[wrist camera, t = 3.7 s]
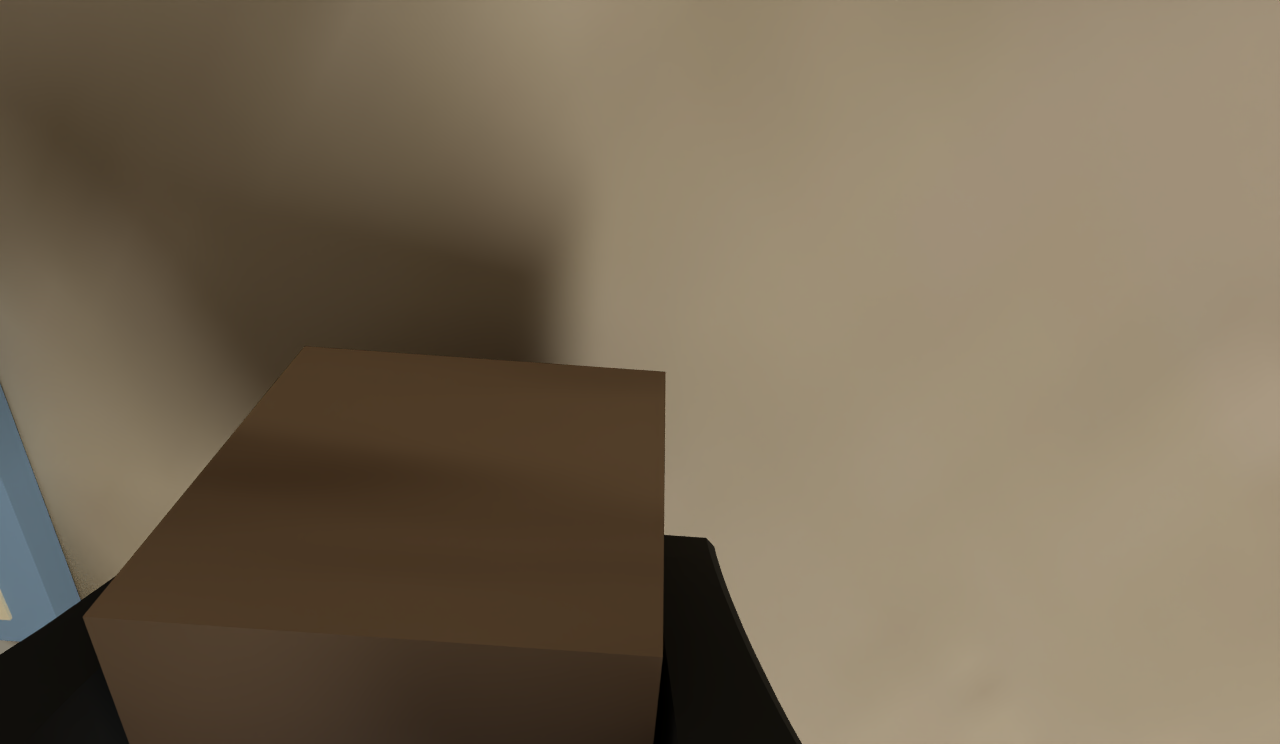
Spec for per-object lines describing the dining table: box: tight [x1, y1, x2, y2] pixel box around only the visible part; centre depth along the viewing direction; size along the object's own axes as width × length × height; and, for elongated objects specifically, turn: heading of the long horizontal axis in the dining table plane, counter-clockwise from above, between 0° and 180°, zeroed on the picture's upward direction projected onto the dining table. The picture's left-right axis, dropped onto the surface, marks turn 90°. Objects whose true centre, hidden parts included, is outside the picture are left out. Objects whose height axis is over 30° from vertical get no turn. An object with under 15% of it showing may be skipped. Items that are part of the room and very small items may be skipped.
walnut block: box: [83, 346, 665, 744], centre depth 10 cm, size 4×4×4 cm
